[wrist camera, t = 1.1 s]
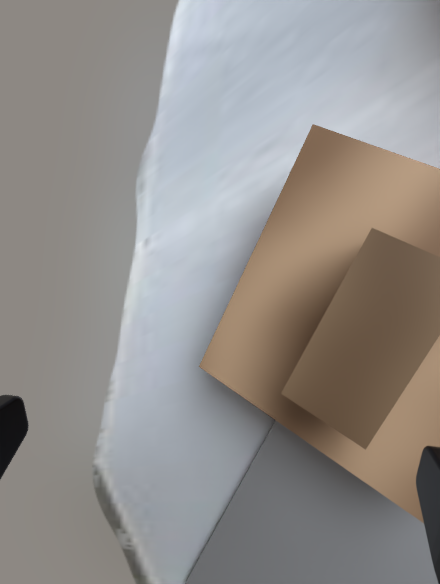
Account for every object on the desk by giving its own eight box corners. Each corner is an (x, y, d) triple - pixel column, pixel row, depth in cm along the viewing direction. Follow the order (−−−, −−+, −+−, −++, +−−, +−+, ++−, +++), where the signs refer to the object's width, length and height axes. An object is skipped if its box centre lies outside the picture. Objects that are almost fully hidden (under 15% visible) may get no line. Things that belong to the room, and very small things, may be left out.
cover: (658, 252, 12) (799, 243, 8) (446, 527, 15) (462, 631, 11) (317, 130, 16) (285, 81, 12) (206, 362, 19) (149, 389, 15)
